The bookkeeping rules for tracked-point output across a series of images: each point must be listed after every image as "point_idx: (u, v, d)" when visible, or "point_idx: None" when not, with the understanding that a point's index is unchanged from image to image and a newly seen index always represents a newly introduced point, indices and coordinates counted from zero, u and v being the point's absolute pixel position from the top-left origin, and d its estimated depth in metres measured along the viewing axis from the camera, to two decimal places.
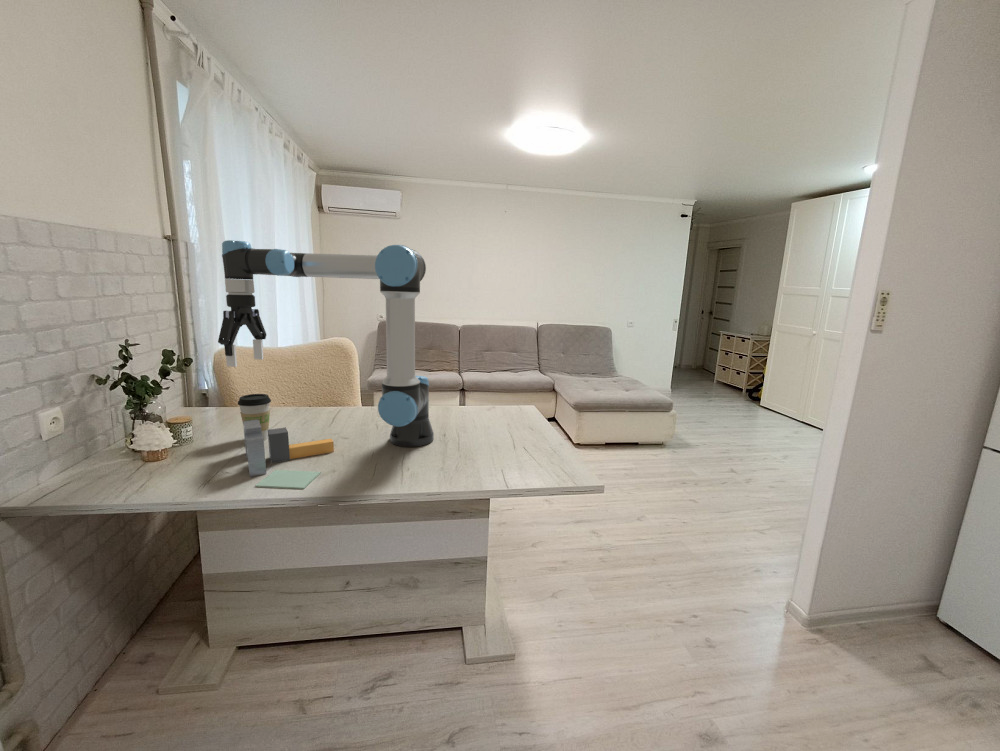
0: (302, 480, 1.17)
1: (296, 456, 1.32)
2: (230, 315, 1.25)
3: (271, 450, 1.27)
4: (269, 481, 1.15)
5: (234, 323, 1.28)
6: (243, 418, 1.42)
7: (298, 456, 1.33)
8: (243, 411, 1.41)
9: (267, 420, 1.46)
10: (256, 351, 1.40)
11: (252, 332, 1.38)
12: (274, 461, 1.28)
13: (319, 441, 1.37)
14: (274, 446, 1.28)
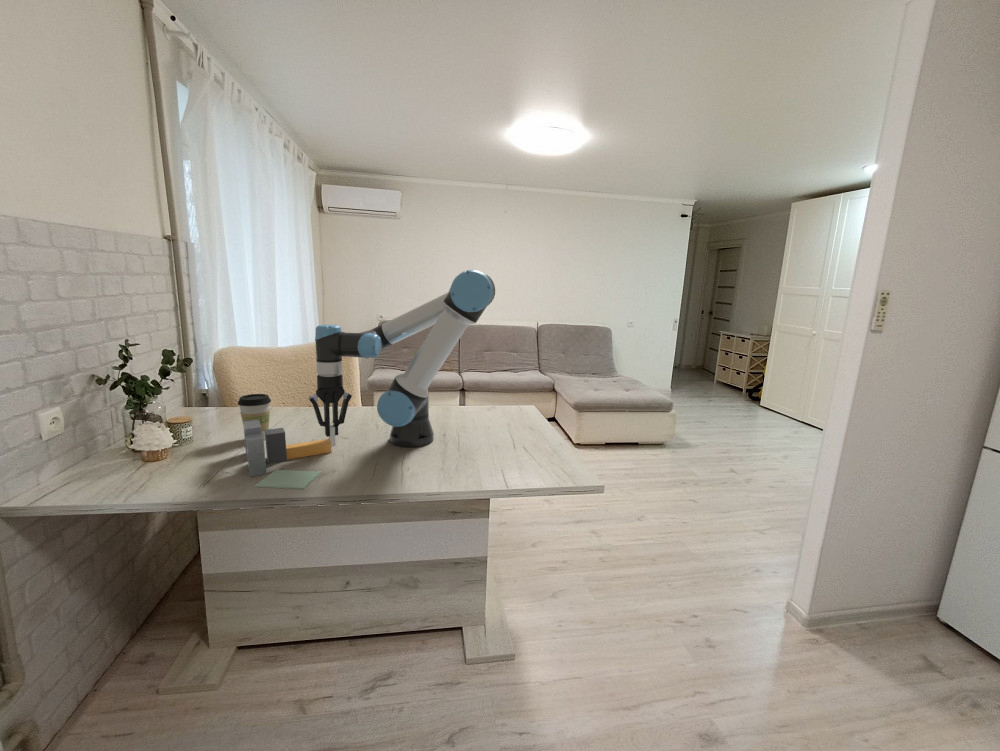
0: (302, 480, 1.17)
1: (293, 456, 1.32)
2: (311, 402, 1.33)
3: (268, 450, 1.27)
4: (269, 481, 1.15)
5: (324, 405, 1.36)
6: (243, 418, 1.42)
7: (295, 456, 1.32)
8: (243, 411, 1.41)
9: (267, 420, 1.46)
10: None
11: None
12: (271, 461, 1.28)
13: (316, 441, 1.37)
14: (271, 446, 1.27)
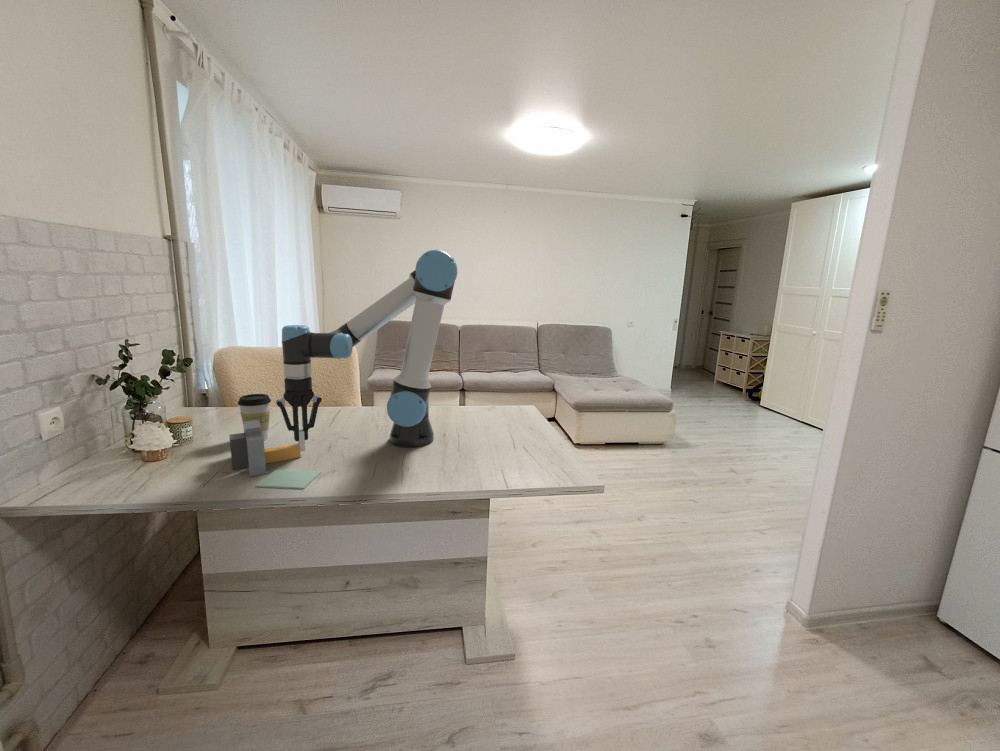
0: (302, 480, 1.17)
1: None
2: None
3: (232, 456, 1.22)
4: (269, 481, 1.15)
5: (292, 408, 1.31)
6: (243, 418, 1.42)
7: None
8: (243, 411, 1.41)
9: (267, 420, 1.46)
10: None
11: (302, 418, 1.33)
12: (235, 467, 1.23)
13: (285, 446, 1.32)
14: (235, 452, 1.22)
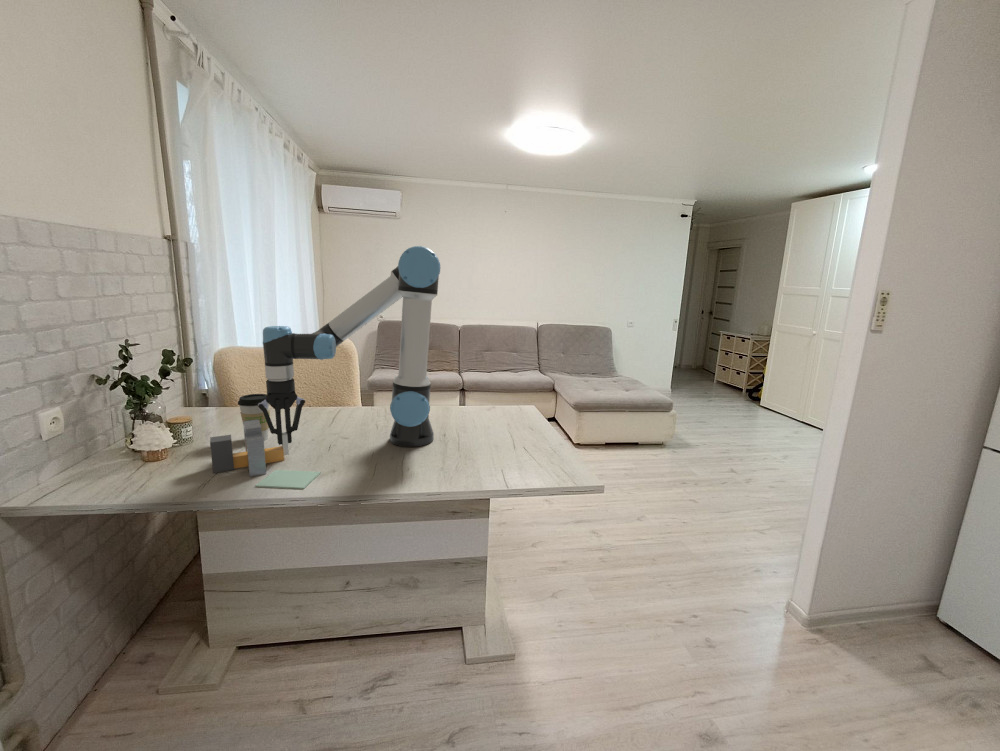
0: (302, 480, 1.17)
1: (241, 465, 1.24)
2: None
3: (212, 459, 1.19)
4: (269, 481, 1.15)
5: (275, 411, 1.28)
6: (243, 418, 1.42)
7: (244, 465, 1.25)
8: (243, 411, 1.41)
9: None
10: None
11: (285, 421, 1.31)
12: (216, 471, 1.20)
13: (268, 449, 1.29)
14: (216, 455, 1.20)
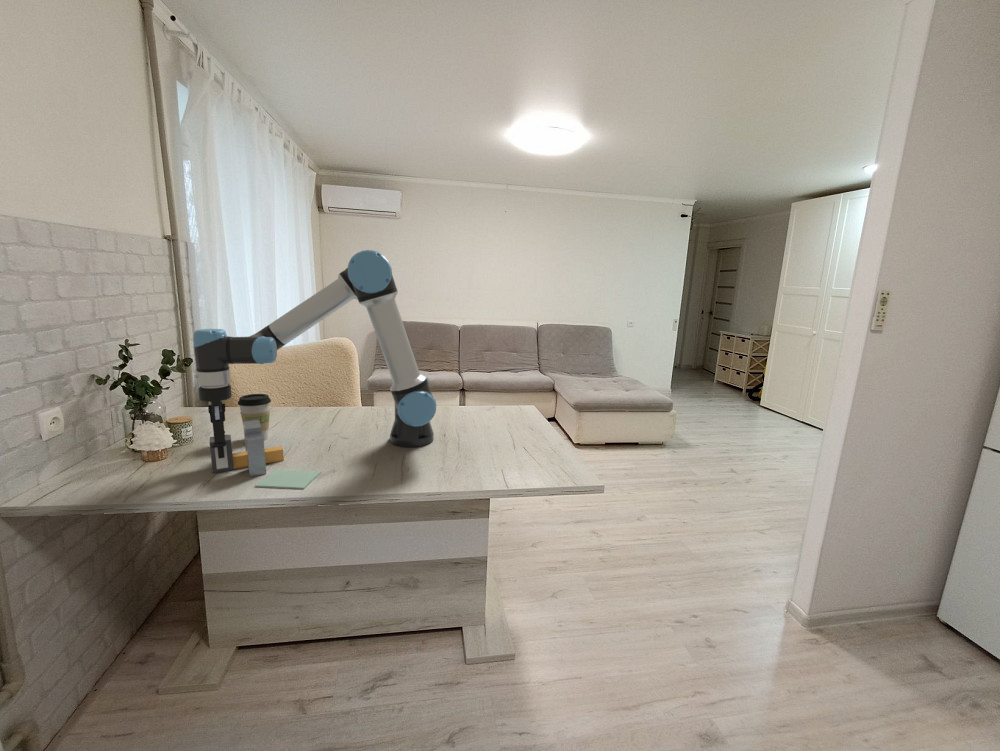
0: (302, 480, 1.17)
1: (241, 465, 1.24)
2: (221, 417, 1.15)
3: (212, 459, 1.19)
4: (269, 481, 1.15)
5: None
6: (243, 418, 1.42)
7: (243, 465, 1.25)
8: (243, 411, 1.41)
9: (267, 420, 1.46)
10: None
11: None
12: (216, 471, 1.20)
13: (268, 449, 1.29)
14: None
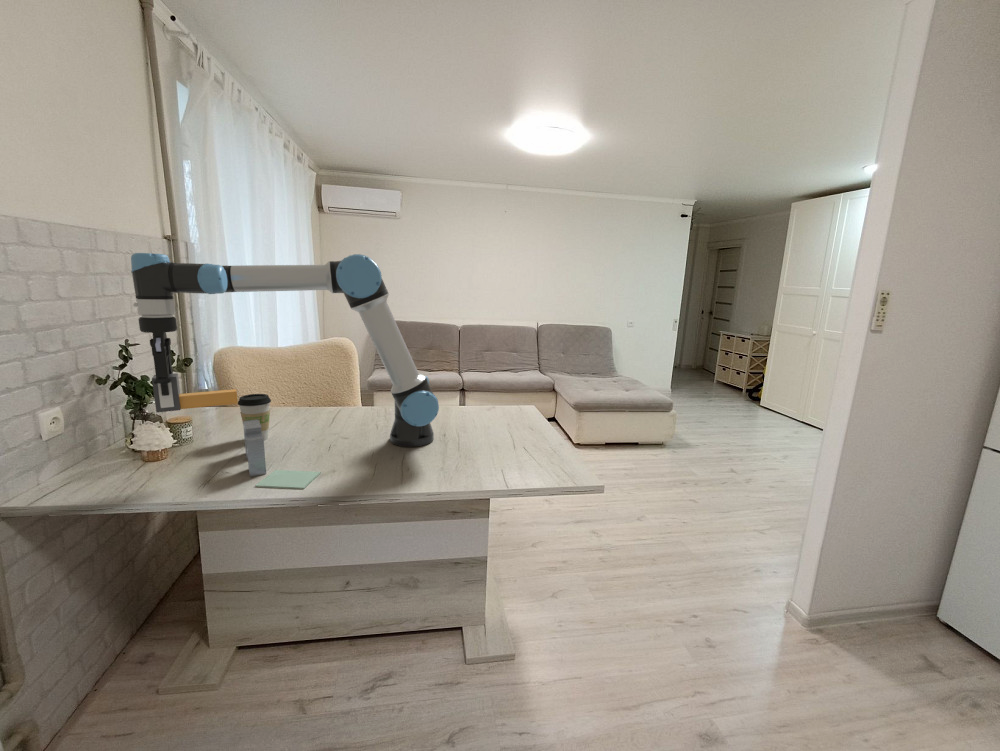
0: (302, 480, 1.17)
1: (189, 406, 1.15)
2: (163, 349, 1.06)
3: (155, 397, 1.10)
4: (269, 481, 1.15)
5: None
6: (243, 418, 1.42)
7: (192, 406, 1.15)
8: (243, 411, 1.41)
9: (267, 420, 1.46)
10: None
11: None
12: (160, 410, 1.11)
13: (220, 391, 1.20)
14: None
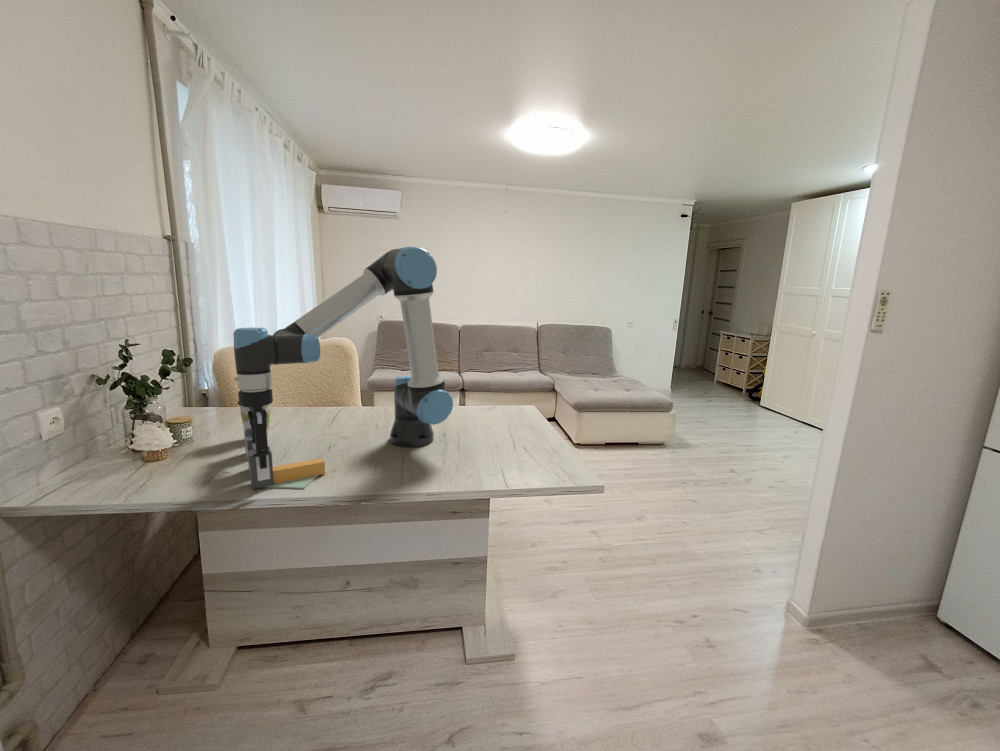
0: (302, 480, 1.17)
1: (281, 480, 1.15)
2: (264, 421, 1.05)
3: (252, 474, 1.10)
4: None
5: None
6: (243, 418, 1.42)
7: (284, 480, 1.15)
8: (243, 411, 1.41)
9: (267, 420, 1.46)
10: None
11: None
12: (255, 486, 1.11)
13: (308, 462, 1.20)
14: (256, 469, 1.10)
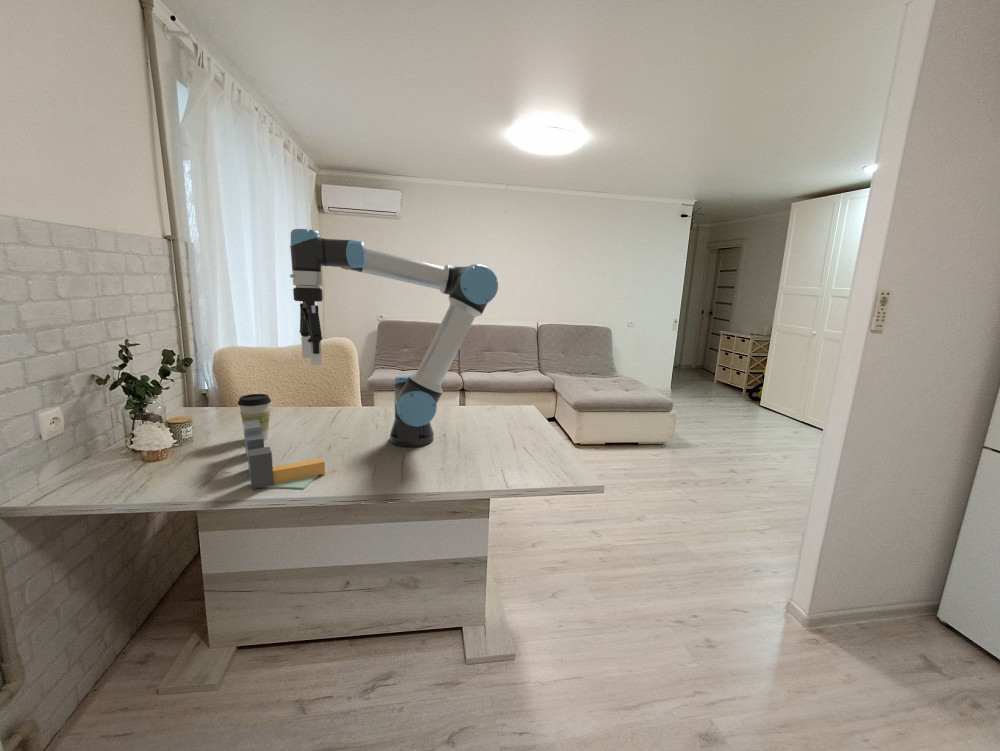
0: (302, 480, 1.17)
1: (281, 480, 1.15)
2: (317, 310, 1.17)
3: (252, 474, 1.10)
4: None
5: None
6: (243, 418, 1.42)
7: (284, 480, 1.15)
8: (243, 411, 1.41)
9: (267, 420, 1.46)
10: (305, 349, 1.29)
11: (304, 329, 1.27)
12: (255, 486, 1.11)
13: (308, 462, 1.20)
14: (256, 469, 1.10)
